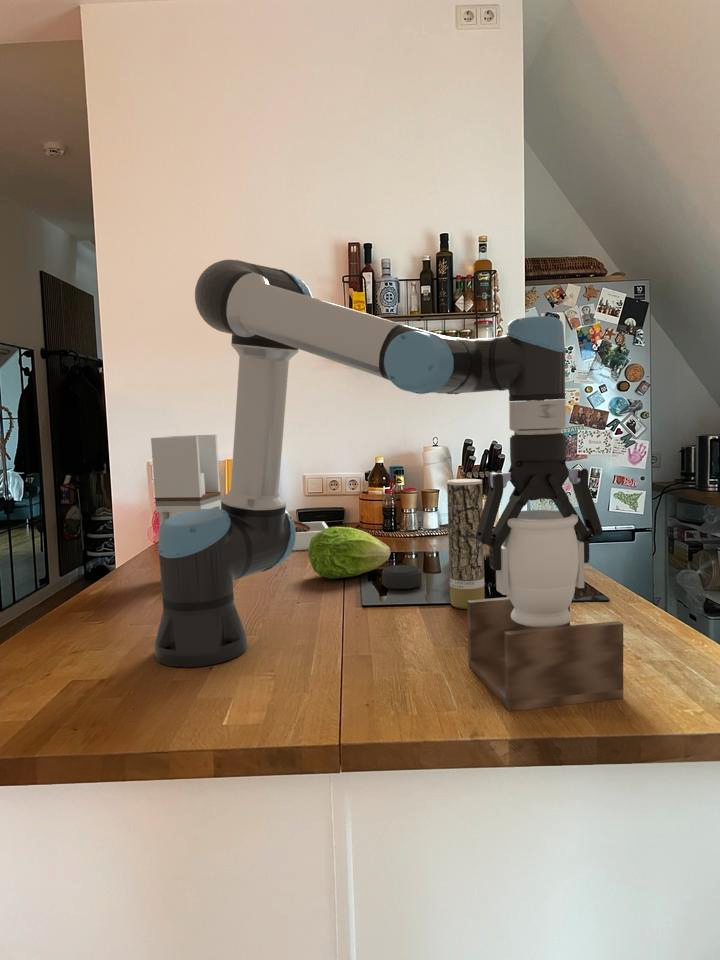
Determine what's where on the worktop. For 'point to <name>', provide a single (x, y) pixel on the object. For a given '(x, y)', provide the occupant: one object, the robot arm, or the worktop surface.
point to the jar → (542, 567)
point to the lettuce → (345, 552)
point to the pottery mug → (301, 527)
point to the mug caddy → (308, 535)
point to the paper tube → (465, 541)
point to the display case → (185, 474)
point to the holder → (543, 658)
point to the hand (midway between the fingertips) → (540, 589)
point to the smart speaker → (401, 577)
